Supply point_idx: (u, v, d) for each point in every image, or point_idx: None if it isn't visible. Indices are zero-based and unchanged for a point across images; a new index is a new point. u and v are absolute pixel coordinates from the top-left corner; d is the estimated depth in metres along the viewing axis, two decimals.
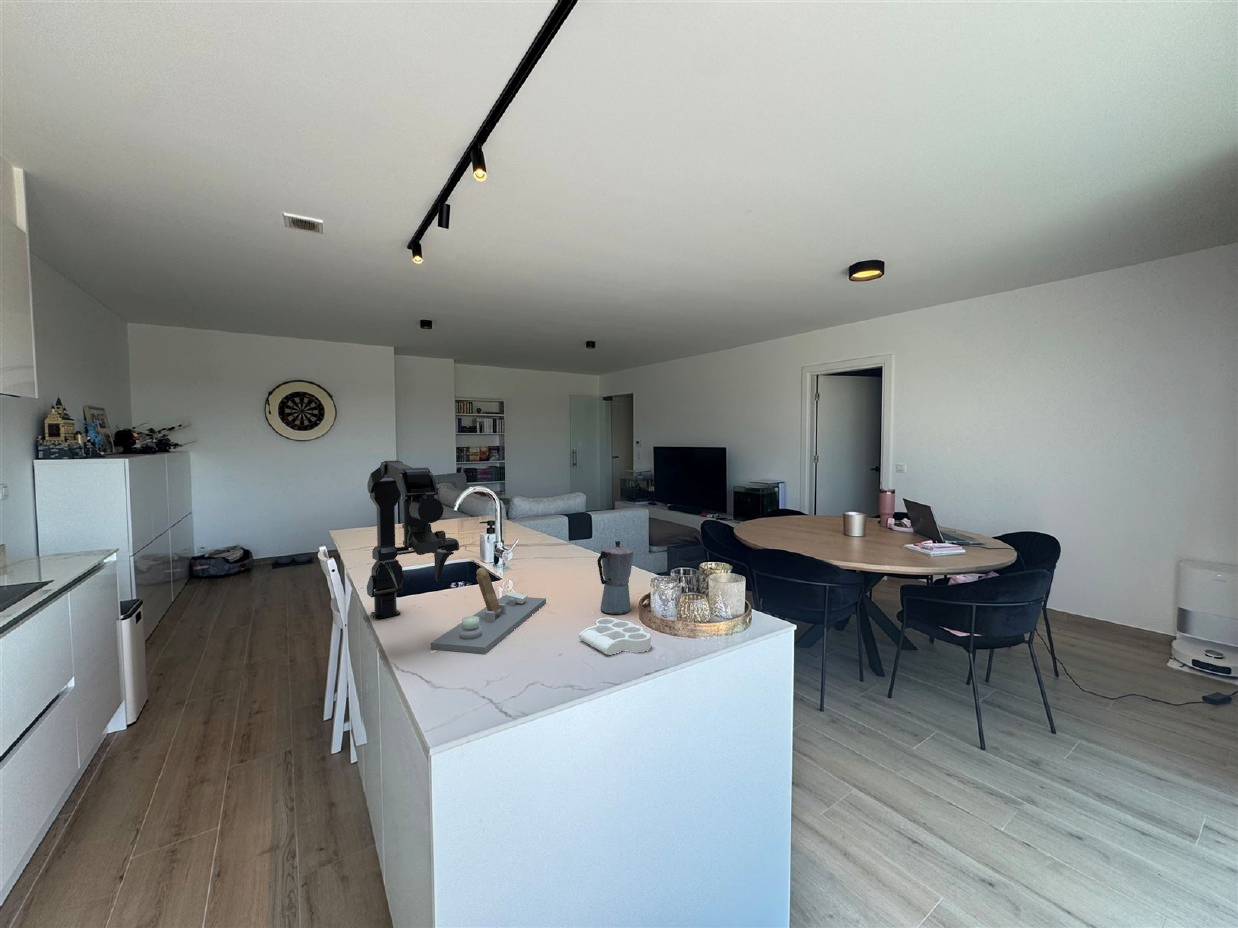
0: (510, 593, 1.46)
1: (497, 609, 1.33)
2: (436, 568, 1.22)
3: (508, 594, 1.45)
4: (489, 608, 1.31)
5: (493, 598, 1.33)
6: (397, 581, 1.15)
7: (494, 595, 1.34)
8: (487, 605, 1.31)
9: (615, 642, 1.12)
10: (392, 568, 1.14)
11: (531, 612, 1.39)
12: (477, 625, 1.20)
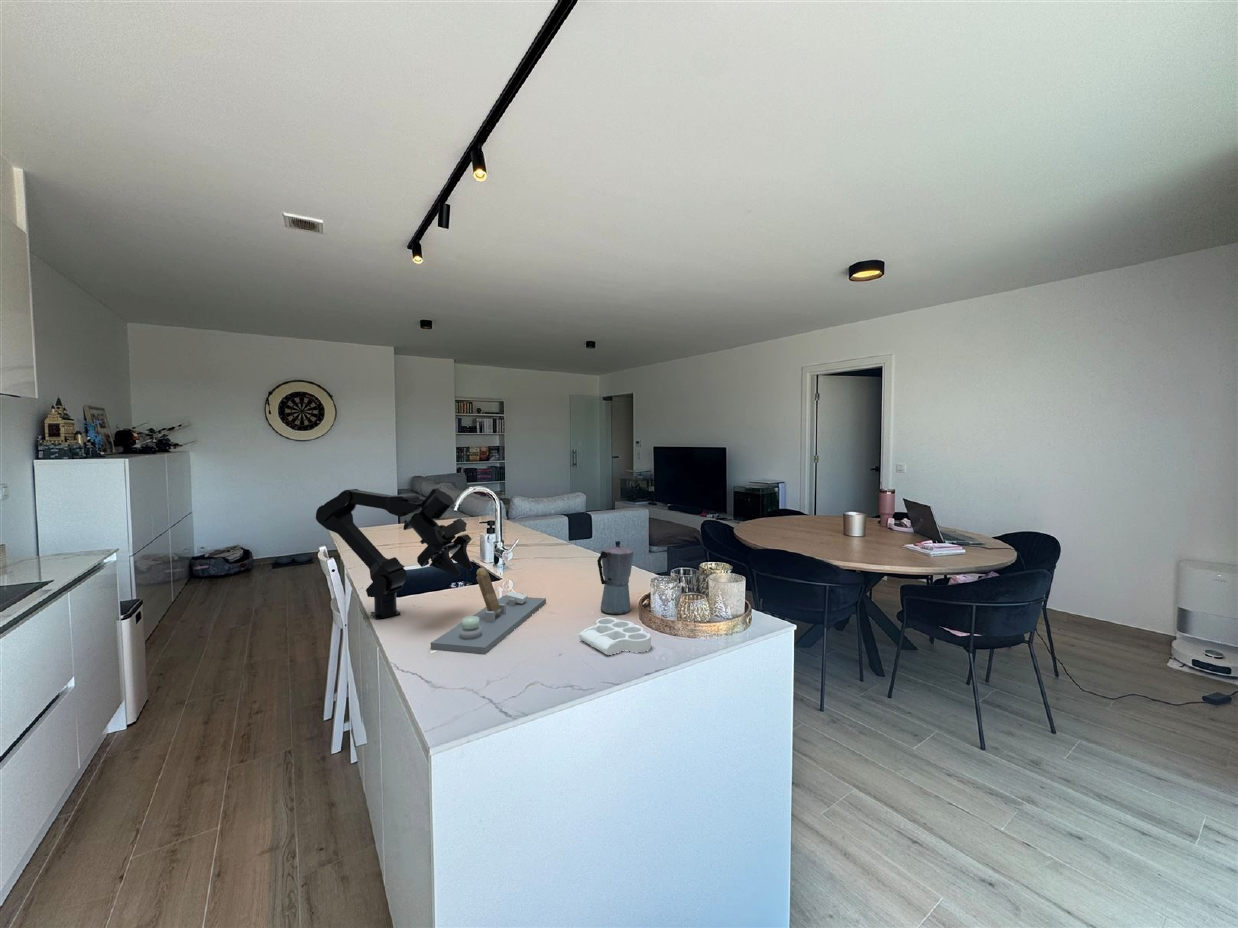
0: (510, 593, 1.46)
1: (497, 609, 1.33)
2: (464, 561, 1.38)
3: (508, 594, 1.45)
4: (489, 608, 1.31)
5: (493, 598, 1.33)
6: (456, 568, 1.31)
7: (494, 595, 1.34)
8: (487, 605, 1.31)
9: (615, 642, 1.12)
10: (447, 558, 1.30)
11: (531, 612, 1.39)
12: (477, 625, 1.20)
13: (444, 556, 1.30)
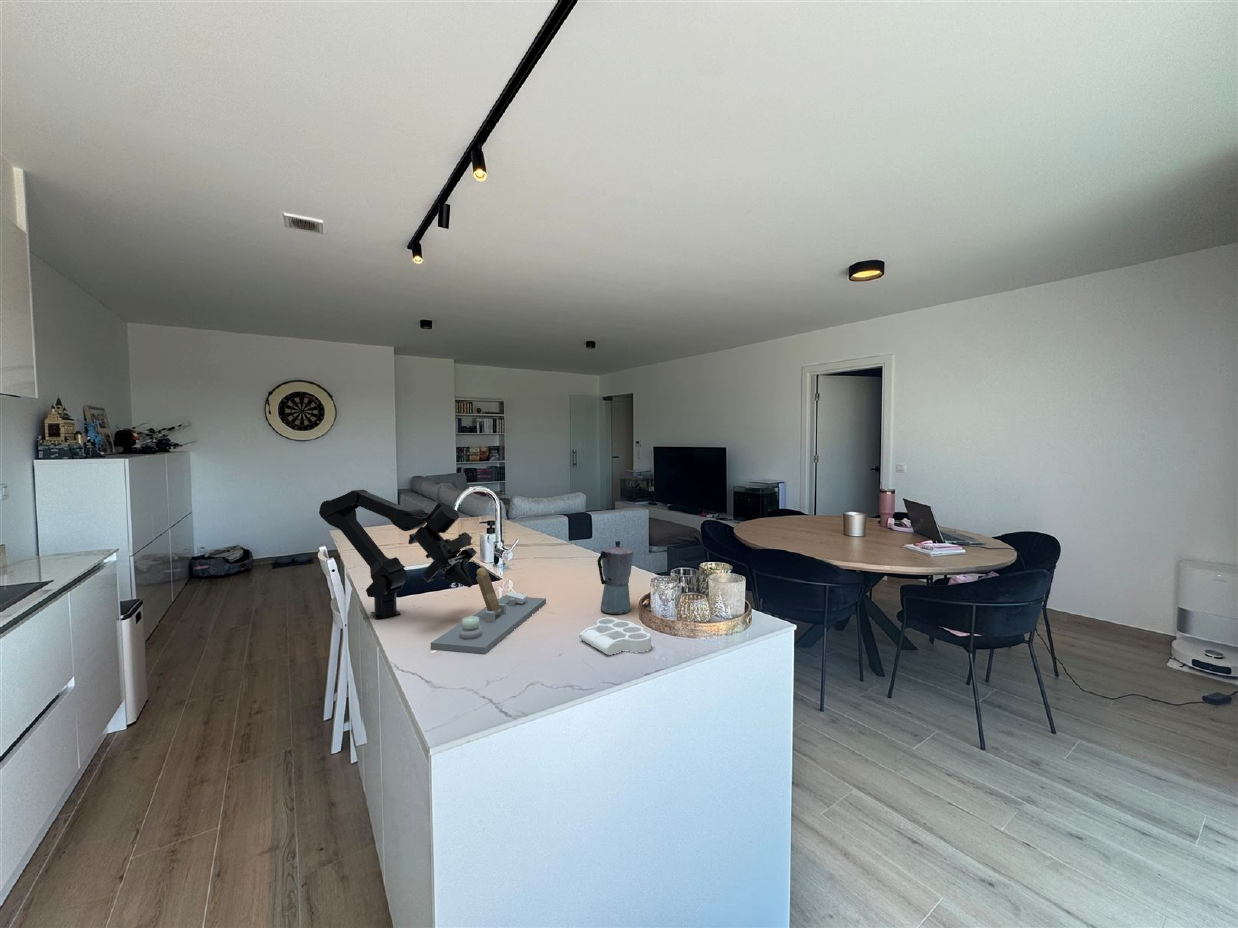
0: (510, 593, 1.46)
1: (497, 609, 1.33)
2: None
3: (508, 594, 1.45)
4: (489, 608, 1.31)
5: (493, 598, 1.33)
6: (468, 579, 1.34)
7: (494, 595, 1.34)
8: (487, 605, 1.31)
9: (615, 642, 1.12)
10: (459, 570, 1.33)
11: (531, 612, 1.39)
12: (477, 625, 1.20)
13: (456, 568, 1.33)
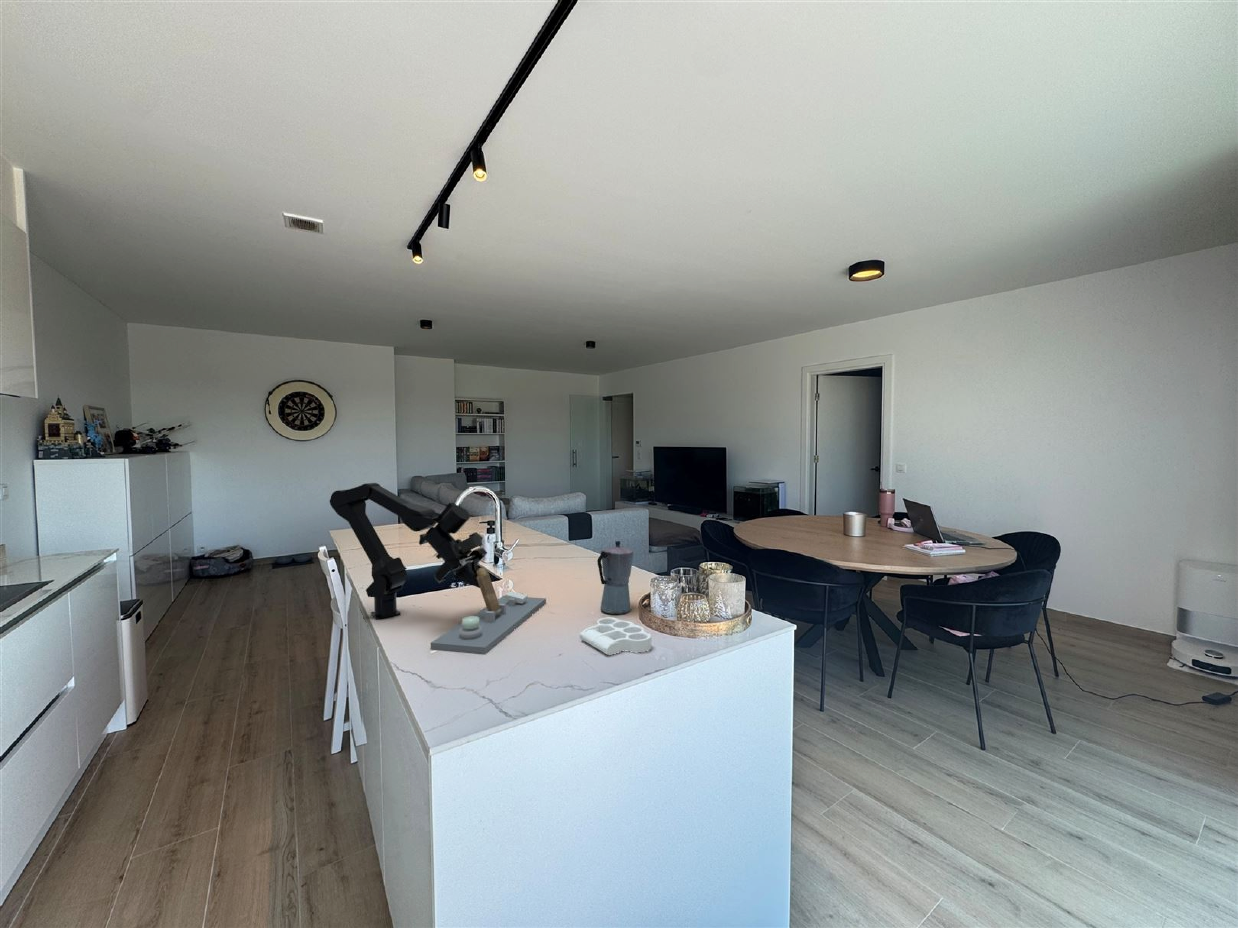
0: (510, 593, 1.46)
1: (497, 609, 1.33)
2: None
3: (508, 594, 1.45)
4: (489, 608, 1.31)
5: (493, 598, 1.33)
6: None
7: (494, 595, 1.34)
8: (487, 605, 1.31)
9: (615, 642, 1.12)
10: (470, 570, 1.32)
11: (531, 612, 1.39)
12: (477, 625, 1.20)
13: (467, 569, 1.32)
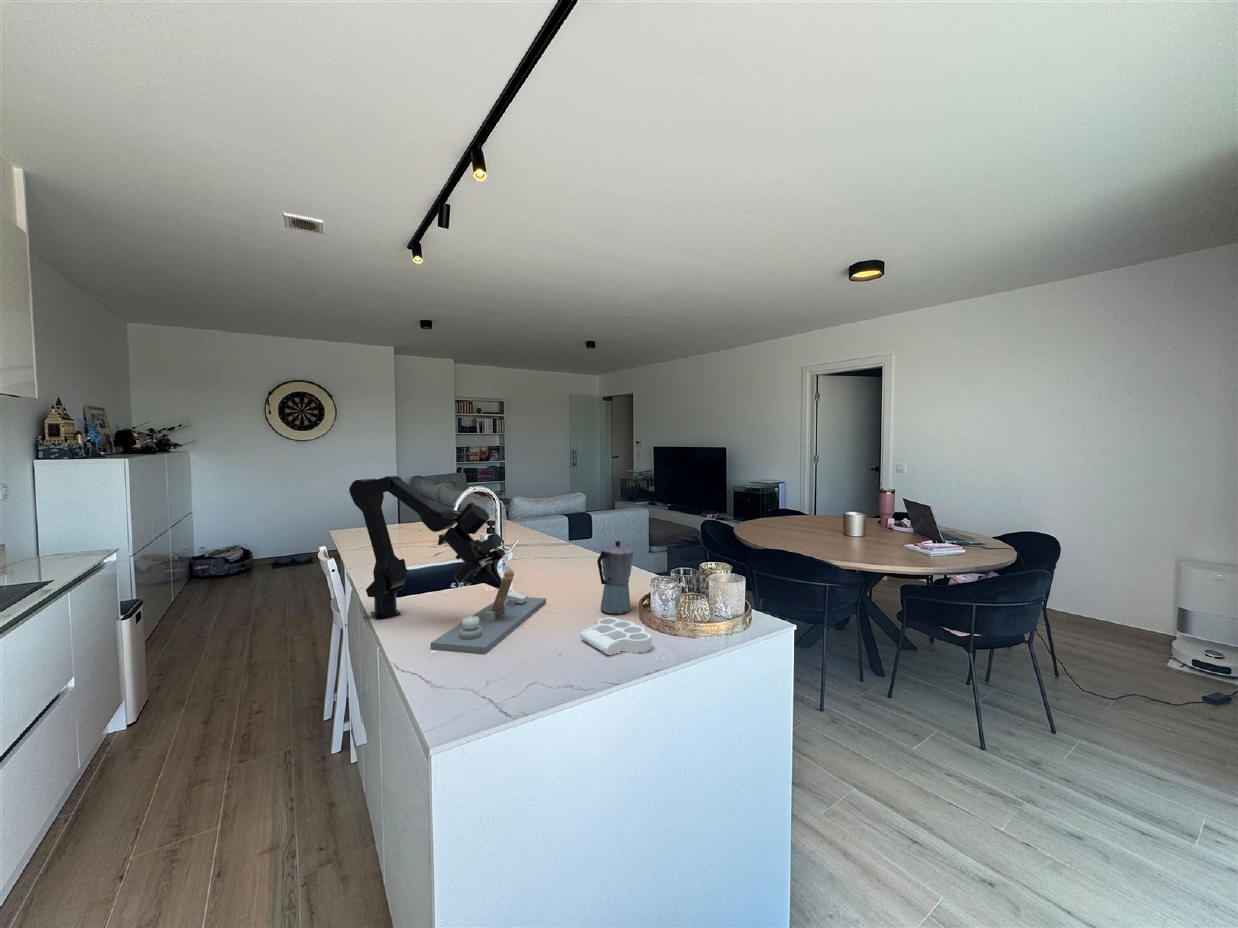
0: (510, 593, 1.46)
1: (499, 611, 1.33)
2: None
3: (508, 594, 1.45)
4: (494, 609, 1.31)
5: (502, 600, 1.33)
6: (498, 581, 1.32)
7: (505, 597, 1.34)
8: (494, 605, 1.31)
9: (615, 642, 1.12)
10: (489, 571, 1.31)
11: (531, 612, 1.39)
12: (477, 625, 1.20)
13: (486, 570, 1.31)
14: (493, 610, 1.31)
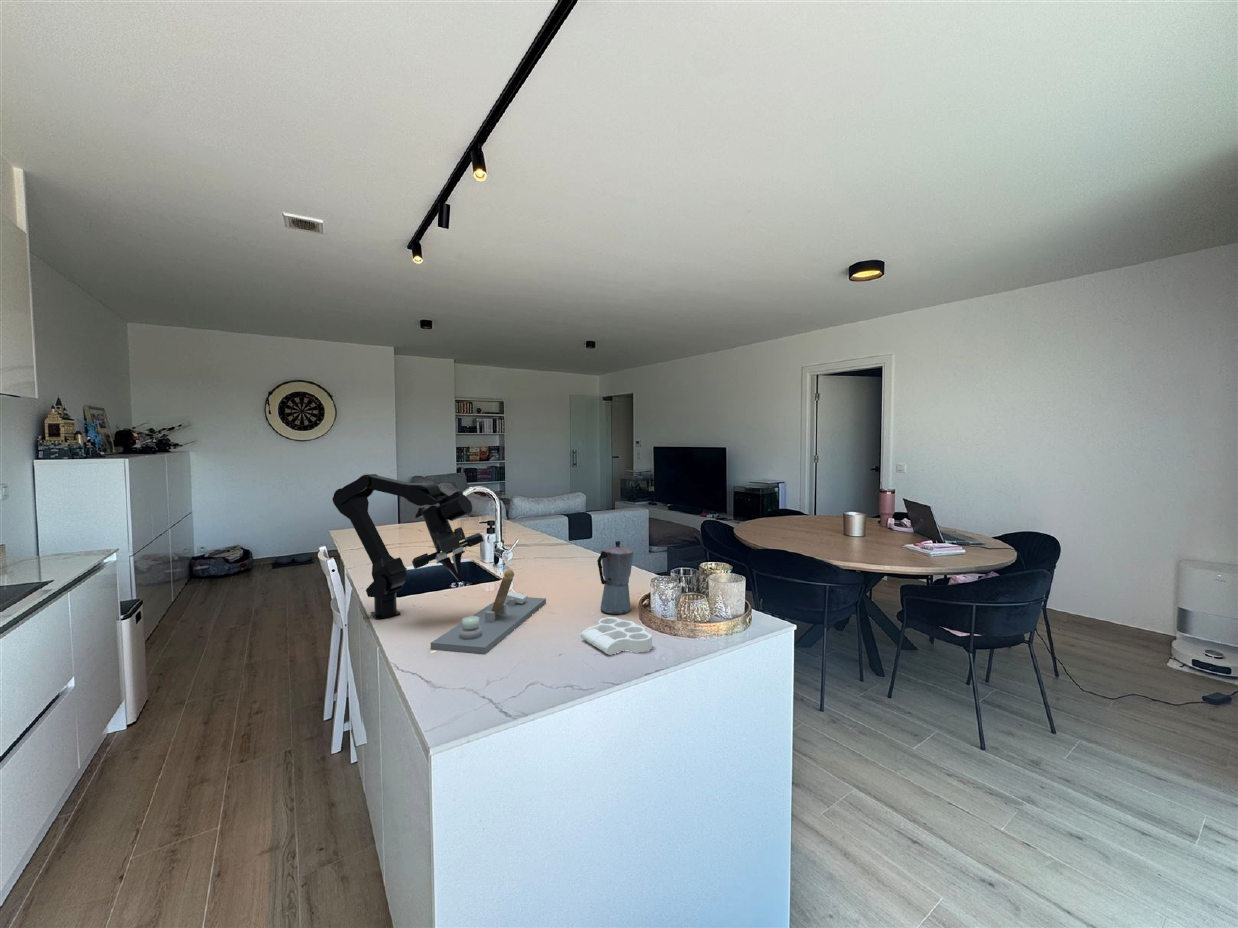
0: (510, 593, 1.46)
1: (499, 611, 1.33)
2: (456, 569, 1.35)
3: (508, 594, 1.45)
4: (494, 609, 1.31)
5: (502, 600, 1.33)
6: (455, 574, 1.34)
7: (505, 597, 1.34)
8: (494, 605, 1.31)
9: (616, 642, 1.12)
10: (447, 564, 1.33)
11: (531, 612, 1.39)
12: (477, 625, 1.20)
13: None
14: (493, 610, 1.31)
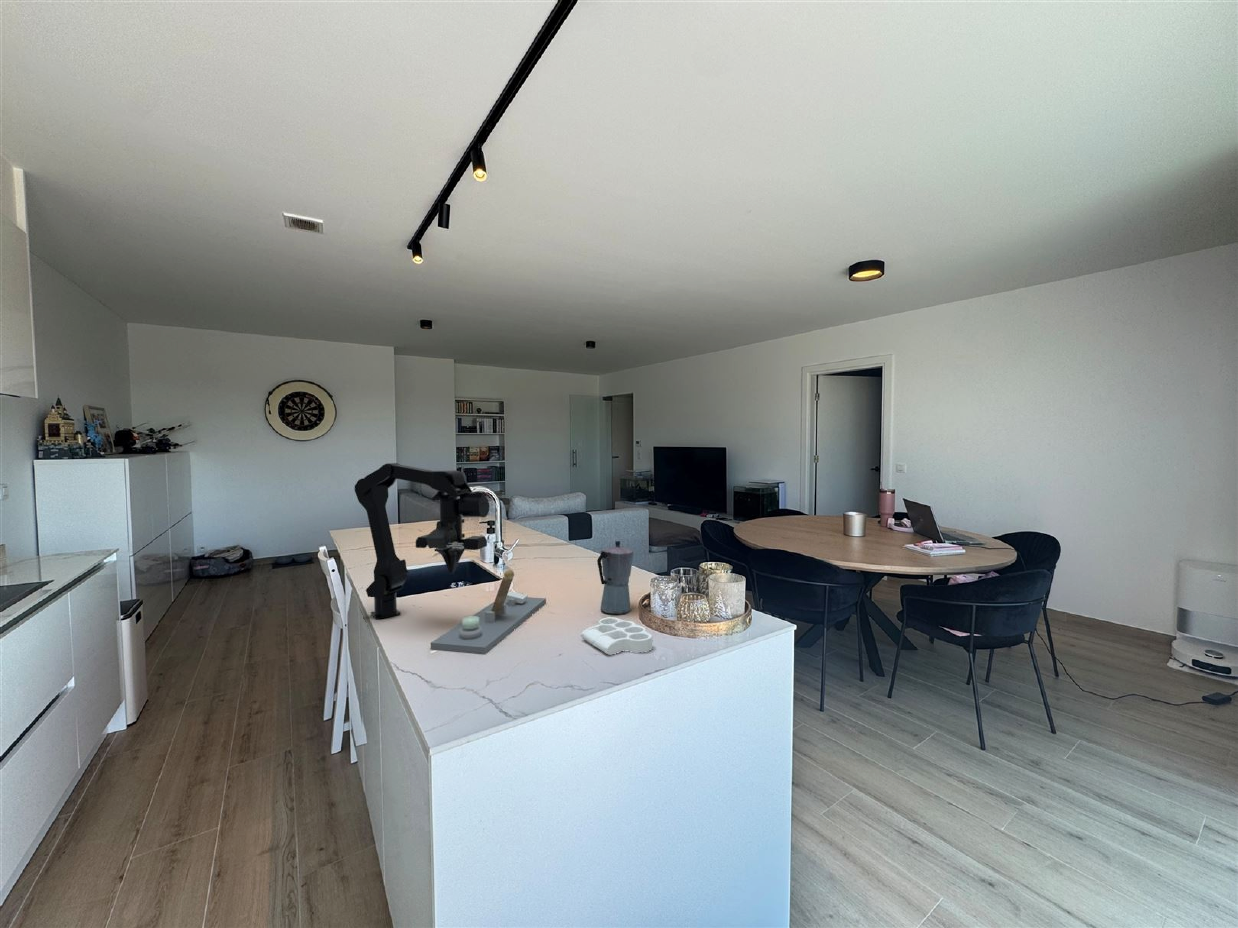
0: (510, 593, 1.46)
1: (499, 611, 1.33)
2: None
3: (508, 594, 1.45)
4: (494, 609, 1.31)
5: (502, 600, 1.33)
6: (448, 567, 1.35)
7: (505, 597, 1.34)
8: (494, 605, 1.31)
9: (616, 642, 1.12)
10: (442, 555, 1.34)
11: (531, 612, 1.39)
12: (477, 625, 1.20)
13: None
14: (493, 610, 1.31)
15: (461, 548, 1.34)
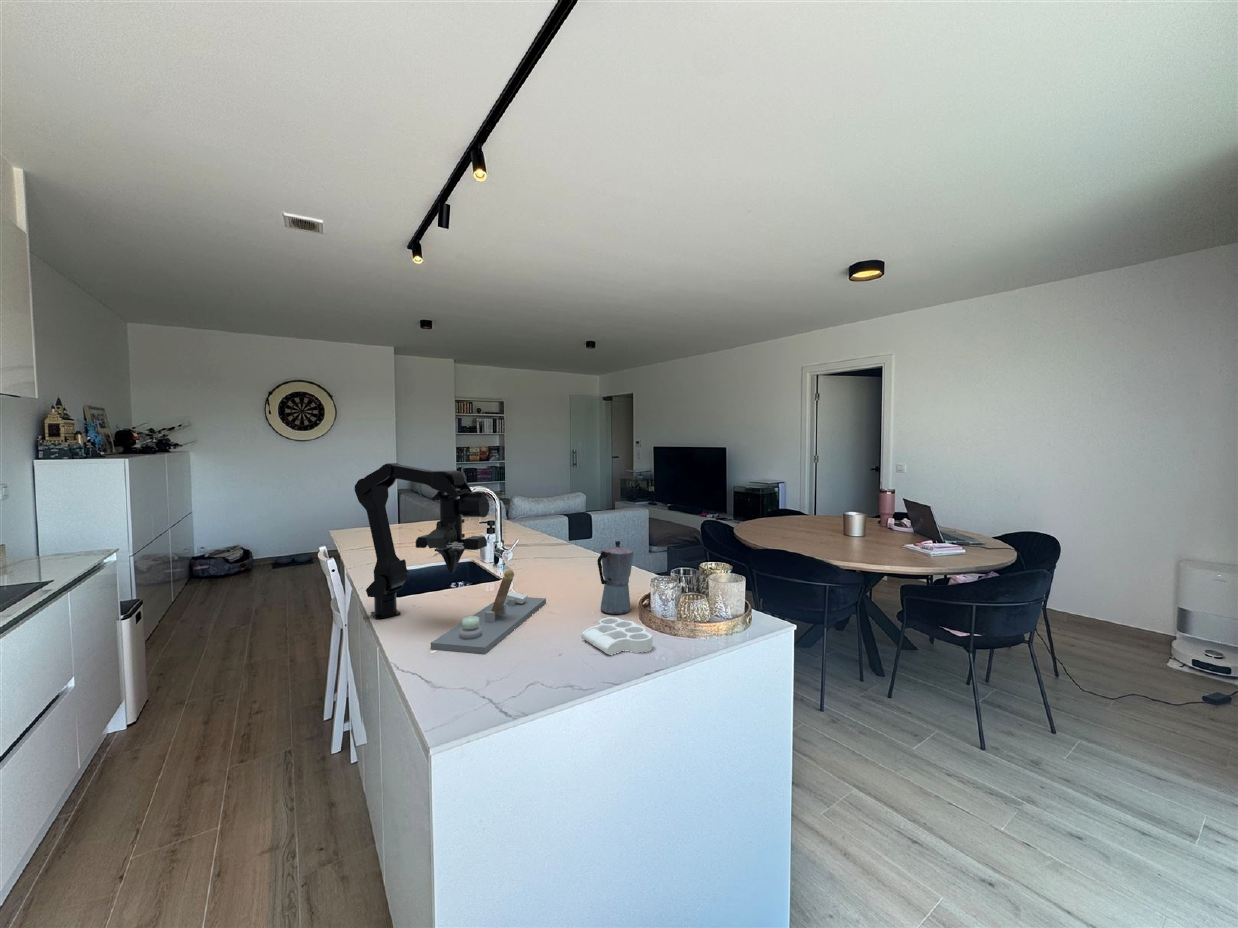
0: (510, 593, 1.46)
1: (499, 611, 1.33)
2: None
3: (508, 594, 1.45)
4: (494, 609, 1.31)
5: (502, 600, 1.33)
6: (448, 567, 1.35)
7: (505, 597, 1.34)
8: (494, 605, 1.31)
9: (616, 642, 1.13)
10: (442, 555, 1.34)
11: (531, 612, 1.39)
12: (477, 625, 1.20)
13: None
14: (493, 610, 1.31)
15: (461, 548, 1.34)
